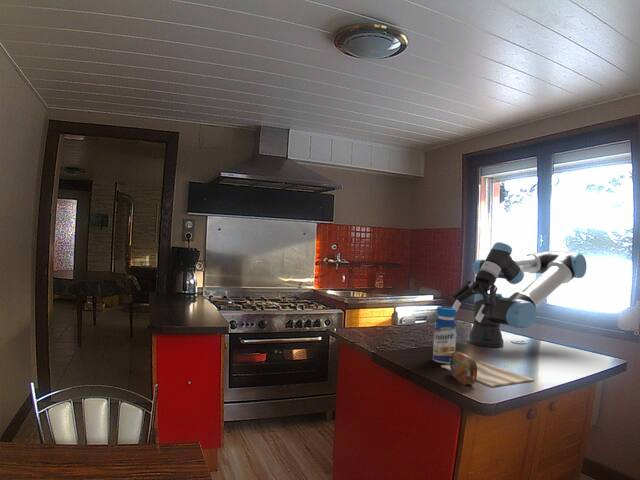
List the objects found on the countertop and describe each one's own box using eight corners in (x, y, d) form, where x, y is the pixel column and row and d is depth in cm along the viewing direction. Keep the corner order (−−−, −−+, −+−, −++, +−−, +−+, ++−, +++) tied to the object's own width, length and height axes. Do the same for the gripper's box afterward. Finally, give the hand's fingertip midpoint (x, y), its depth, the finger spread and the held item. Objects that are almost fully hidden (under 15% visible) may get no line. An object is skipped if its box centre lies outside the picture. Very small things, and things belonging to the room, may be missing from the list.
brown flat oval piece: (448, 373, 143) (450, 348, 144) (457, 373, 144) (459, 348, 144) (468, 388, 128) (469, 360, 129) (478, 389, 129) (479, 361, 129)
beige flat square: (480, 362, 160) (481, 361, 160) (534, 381, 140) (534, 379, 140) (441, 367, 150) (441, 365, 150) (492, 387, 131) (492, 385, 131)
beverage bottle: (458, 361, 160) (460, 308, 160) (451, 365, 153) (454, 310, 153) (435, 356, 165) (438, 305, 165) (428, 361, 158) (431, 307, 158)
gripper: (460, 267, 185) (436, 307, 179) (508, 271, 163) (484, 317, 157) (469, 277, 188) (446, 317, 182) (518, 283, 166) (494, 328, 160)
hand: (464, 317), depth 170 cm, fingers open, 13 cm apart
